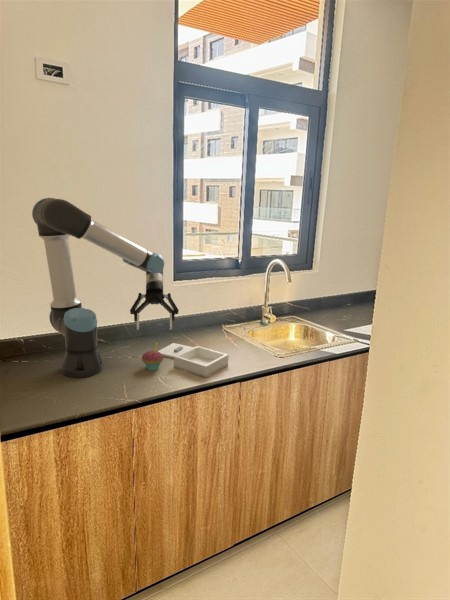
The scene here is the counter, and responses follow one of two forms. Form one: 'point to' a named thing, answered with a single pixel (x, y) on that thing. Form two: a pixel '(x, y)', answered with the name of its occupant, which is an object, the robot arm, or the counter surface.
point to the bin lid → (174, 350)
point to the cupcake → (152, 359)
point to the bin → (201, 361)
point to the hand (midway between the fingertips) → (154, 328)
